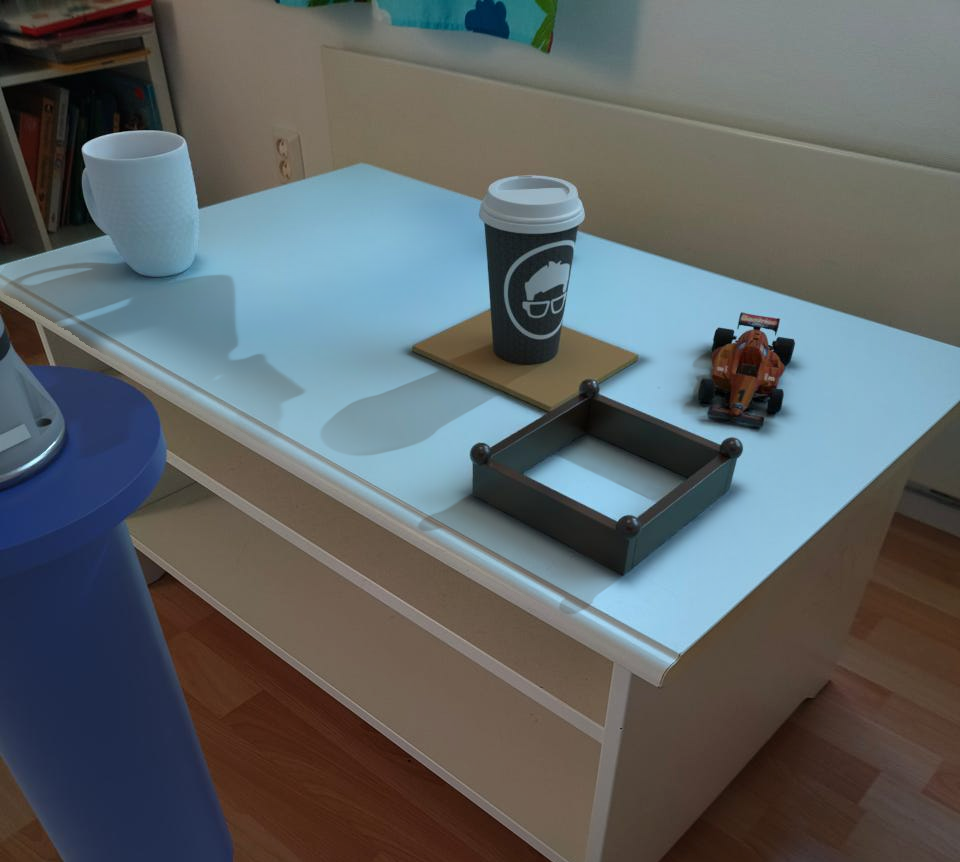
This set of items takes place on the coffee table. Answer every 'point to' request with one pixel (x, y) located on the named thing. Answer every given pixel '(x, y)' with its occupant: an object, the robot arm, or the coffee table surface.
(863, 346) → the coffee table surface
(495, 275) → the coffee cup
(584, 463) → the coffee table surface
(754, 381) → the toy car
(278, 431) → the coffee table surface
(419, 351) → the cork mat
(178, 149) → the mug
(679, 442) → the dark square frame
